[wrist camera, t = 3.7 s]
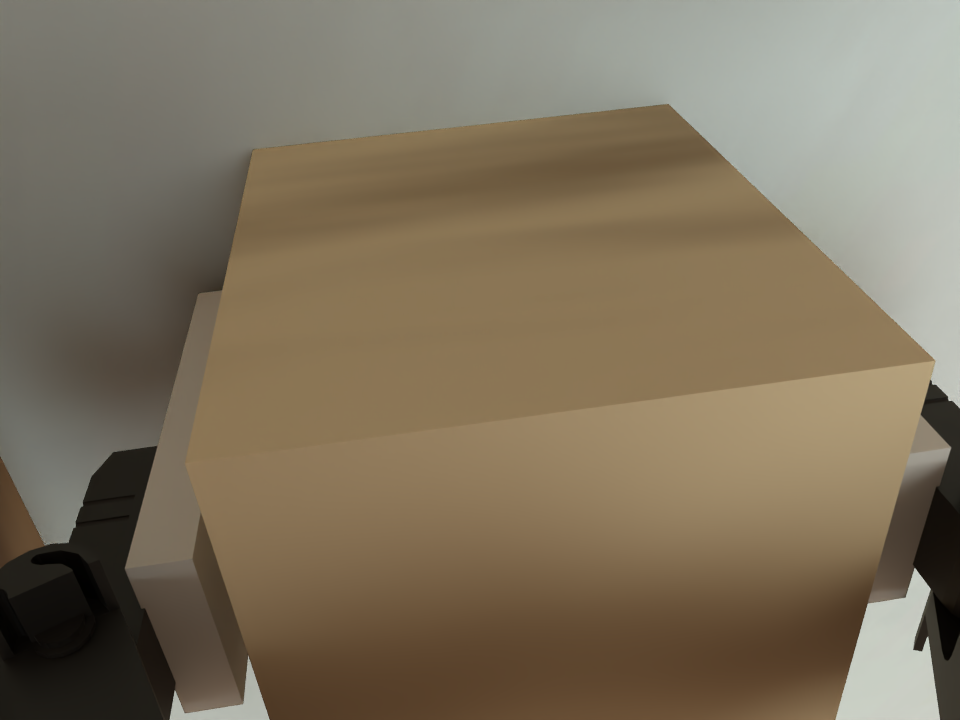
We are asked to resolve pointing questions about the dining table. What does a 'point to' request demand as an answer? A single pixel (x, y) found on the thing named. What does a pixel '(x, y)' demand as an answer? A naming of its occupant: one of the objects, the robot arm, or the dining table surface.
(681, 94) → the dining table surface
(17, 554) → the tower base
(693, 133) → the oak block
